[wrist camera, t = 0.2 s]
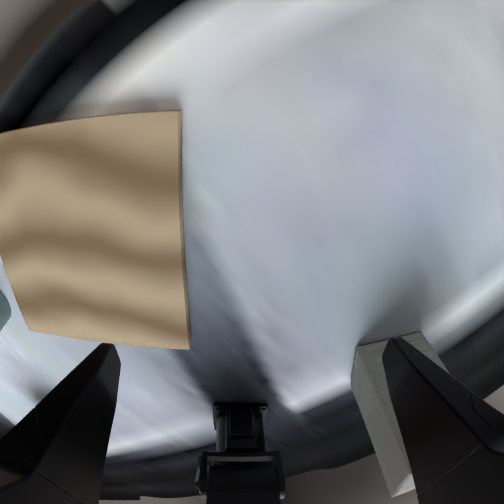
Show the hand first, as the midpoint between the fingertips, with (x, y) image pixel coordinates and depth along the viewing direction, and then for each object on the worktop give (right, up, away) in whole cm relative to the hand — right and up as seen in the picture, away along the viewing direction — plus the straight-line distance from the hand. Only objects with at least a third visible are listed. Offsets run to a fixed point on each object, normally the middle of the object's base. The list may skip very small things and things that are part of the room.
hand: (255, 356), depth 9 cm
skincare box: (+15, -8, +22) cm, 28 cm away
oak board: (-14, +4, +14) cm, 20 cm away
